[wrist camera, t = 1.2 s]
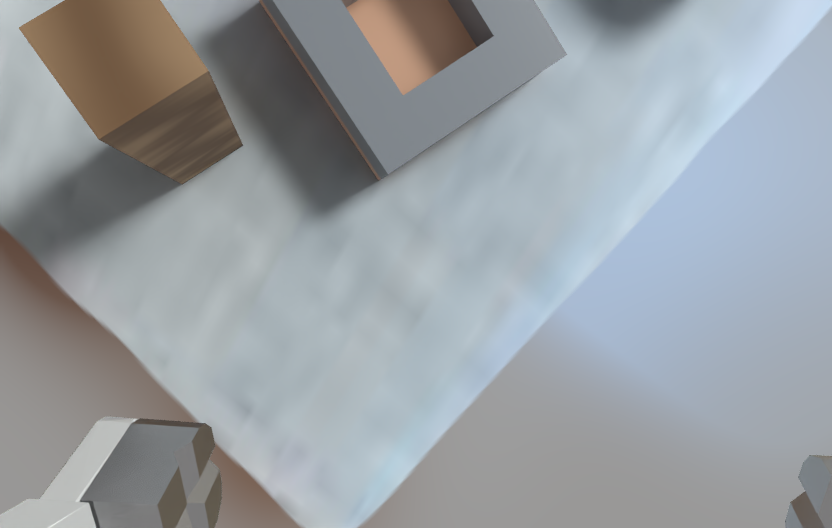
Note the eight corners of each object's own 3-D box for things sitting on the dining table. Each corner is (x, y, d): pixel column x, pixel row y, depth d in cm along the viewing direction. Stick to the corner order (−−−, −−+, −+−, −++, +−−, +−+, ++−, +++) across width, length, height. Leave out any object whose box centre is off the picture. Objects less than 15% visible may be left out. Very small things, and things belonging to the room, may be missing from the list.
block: (182, 184, 40) (98, 139, 22) (138, 123, 39) (18, 27, 22) (242, 145, 40) (208, 70, 23) (200, 84, 40) (132, -40, 22)
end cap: (378, 180, 42) (388, 174, 38) (259, 1, 40) (256, -25, 36) (541, 71, 43) (567, 54, 40) (432, -106, 42) (447, -141, 38)
